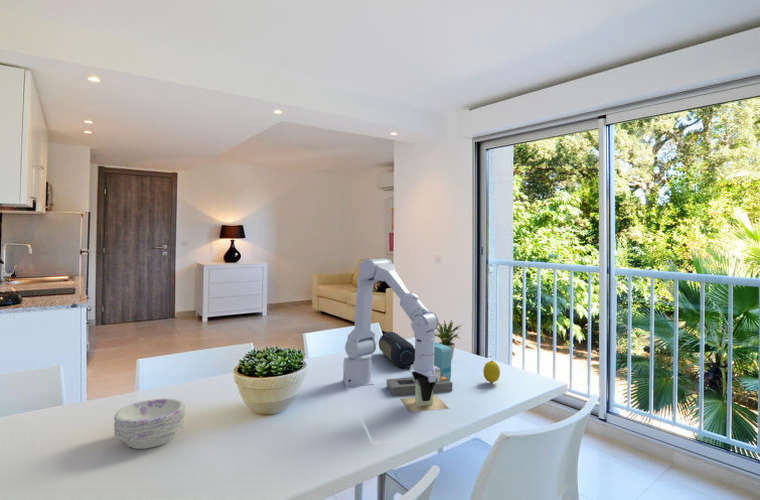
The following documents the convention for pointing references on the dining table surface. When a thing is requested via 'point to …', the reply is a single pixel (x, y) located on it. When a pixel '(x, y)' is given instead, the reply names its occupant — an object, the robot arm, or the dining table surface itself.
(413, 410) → the cork mat
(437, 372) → the twin plug
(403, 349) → the portable speaker
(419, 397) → the plug
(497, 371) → the lemon
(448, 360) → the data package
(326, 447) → the dining table surface
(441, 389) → the power strip
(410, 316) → the robot arm
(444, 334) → the house plant
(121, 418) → the paper bowls
